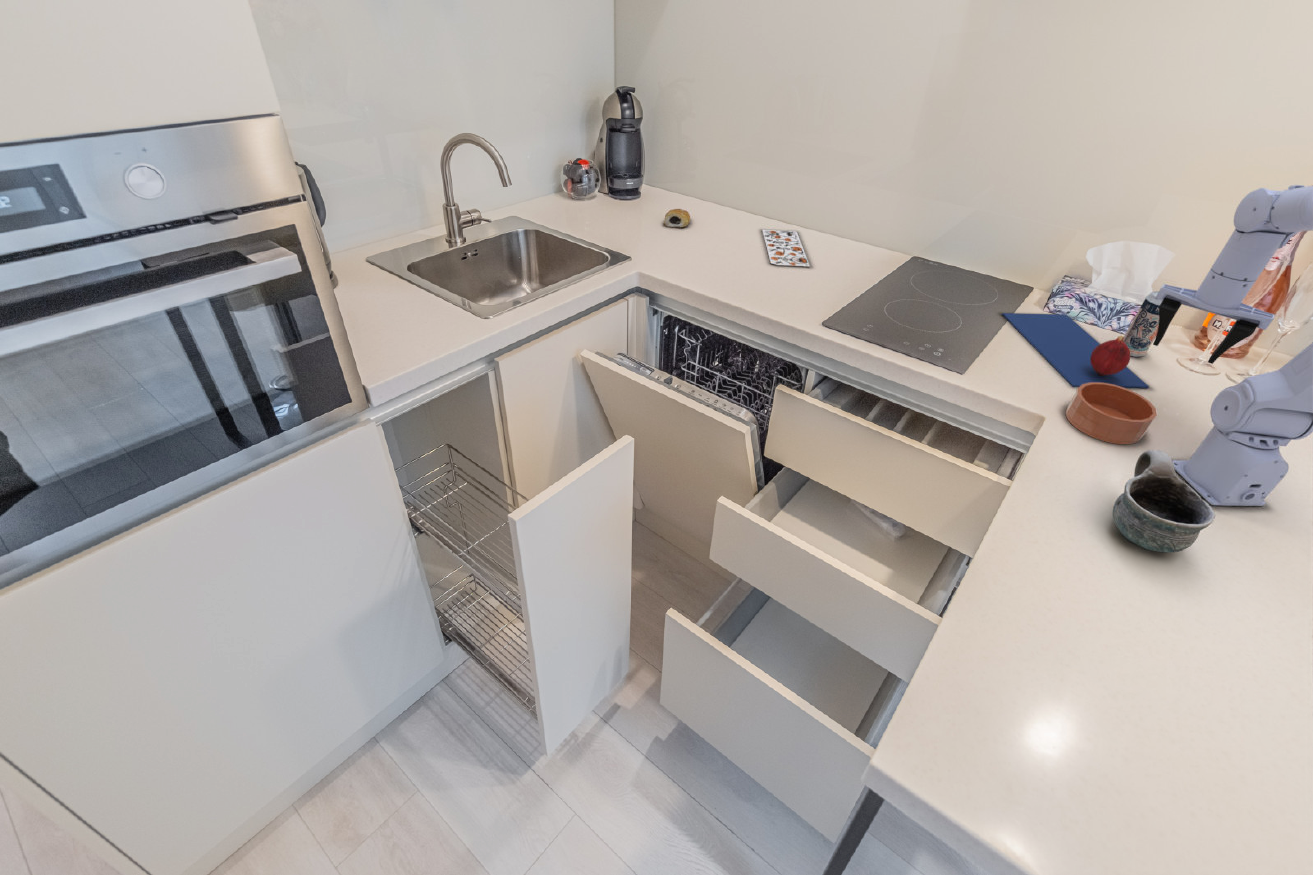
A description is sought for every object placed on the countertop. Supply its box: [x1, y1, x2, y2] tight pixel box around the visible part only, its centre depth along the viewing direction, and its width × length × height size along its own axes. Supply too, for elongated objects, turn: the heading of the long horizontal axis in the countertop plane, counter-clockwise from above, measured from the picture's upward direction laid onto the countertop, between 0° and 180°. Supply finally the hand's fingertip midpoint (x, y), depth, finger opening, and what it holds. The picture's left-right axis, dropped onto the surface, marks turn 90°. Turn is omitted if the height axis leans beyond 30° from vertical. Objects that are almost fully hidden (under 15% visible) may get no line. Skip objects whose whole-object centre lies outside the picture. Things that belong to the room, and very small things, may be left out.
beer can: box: [1123, 290, 1163, 358], centre depth 119 cm, size 5×5×12 cm
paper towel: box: [761, 229, 811, 267], centre depth 160 cm, size 24×1×9 cm
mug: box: [1111, 449, 1216, 553], centre depth 81 cm, size 10×12×10 cm
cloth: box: [1002, 312, 1150, 389], centre depth 123 cm, size 28×14×1 cm, turn 1°
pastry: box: [663, 208, 691, 228], centre depth 171 cm, size 9×7×4 cm
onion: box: [1090, 335, 1131, 376], centre depth 112 cm, size 6×6×8 cm
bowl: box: [1065, 382, 1158, 445], centre depth 102 cm, size 11×11×4 cm
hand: (1183, 352), depth 102 cm, fingers open, 7 cm apart
